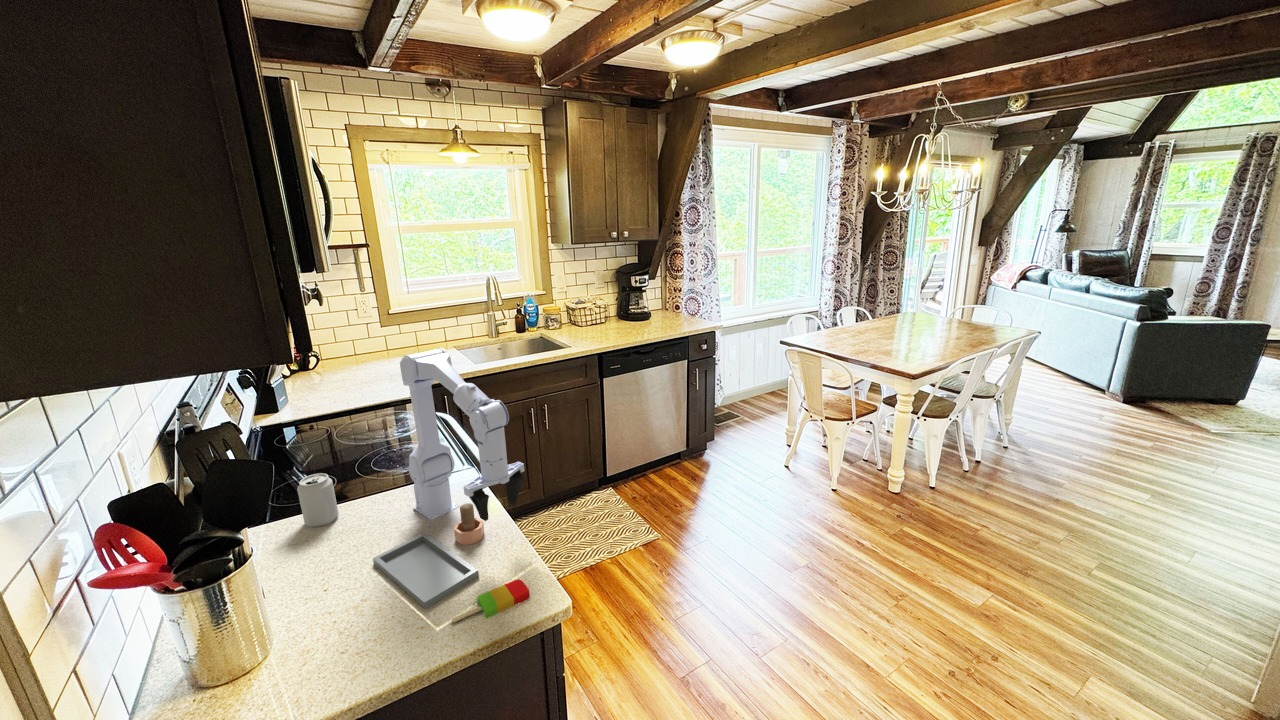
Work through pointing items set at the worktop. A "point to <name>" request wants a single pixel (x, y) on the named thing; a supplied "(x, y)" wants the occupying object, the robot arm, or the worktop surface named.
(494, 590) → the popsicle
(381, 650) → the worktop surface
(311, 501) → the can
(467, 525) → the pin
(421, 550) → the tray
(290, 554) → the worktop surface
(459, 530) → the cup
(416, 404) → the robot arm
